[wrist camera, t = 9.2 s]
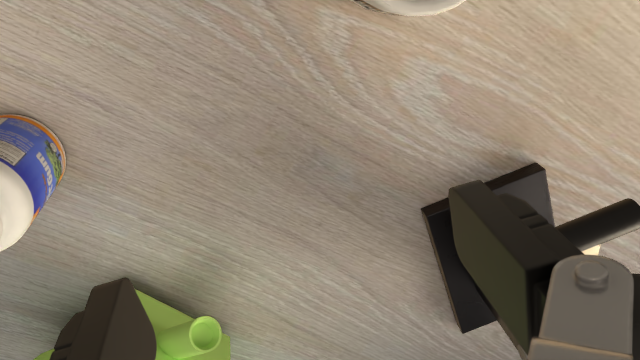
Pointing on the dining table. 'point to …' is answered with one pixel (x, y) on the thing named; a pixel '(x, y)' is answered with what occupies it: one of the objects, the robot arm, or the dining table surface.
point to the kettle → (180, 334)
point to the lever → (602, 226)
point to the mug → (409, 6)
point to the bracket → (459, 283)
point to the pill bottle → (26, 173)
